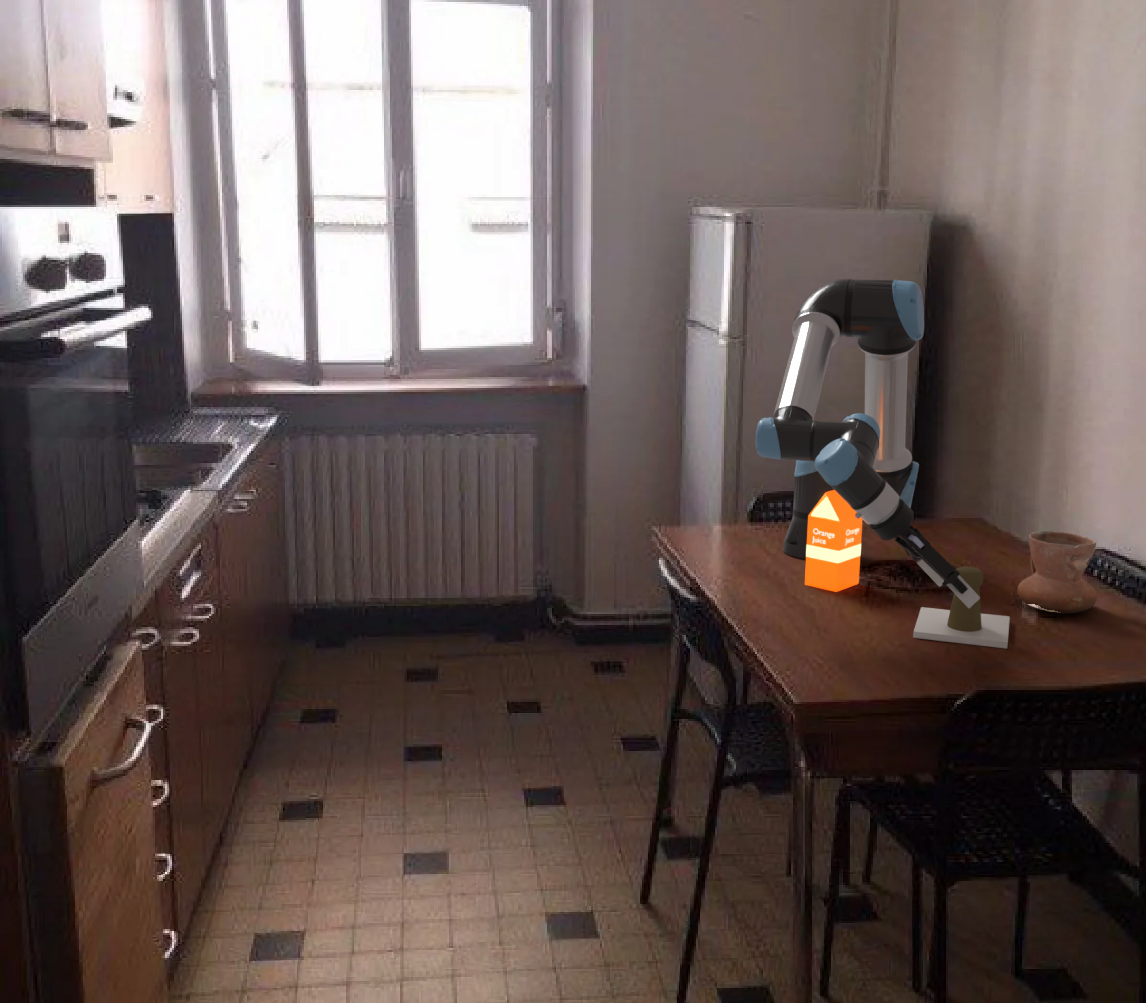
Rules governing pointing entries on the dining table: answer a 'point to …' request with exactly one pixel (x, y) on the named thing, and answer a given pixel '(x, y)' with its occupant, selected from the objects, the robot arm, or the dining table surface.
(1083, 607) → the ceramic jug
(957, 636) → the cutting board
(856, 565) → the orange juice
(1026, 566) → the dining table surface
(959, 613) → the cork
